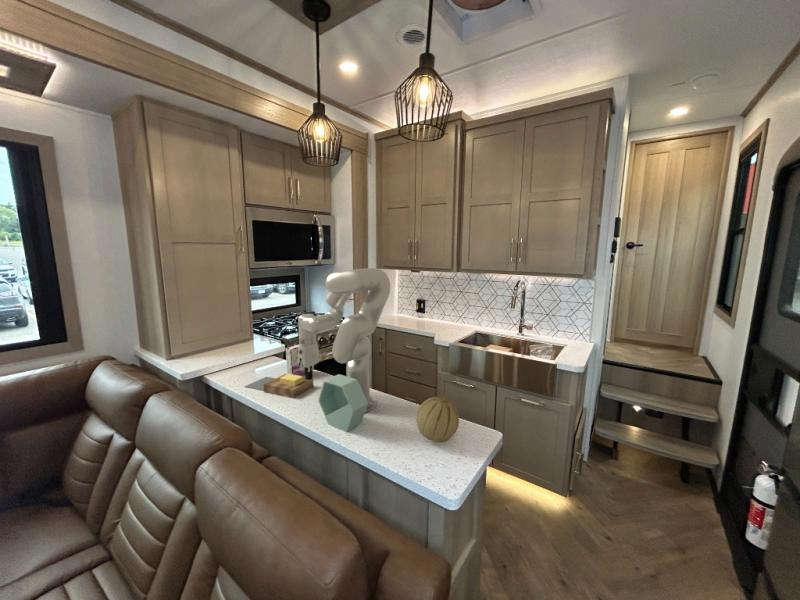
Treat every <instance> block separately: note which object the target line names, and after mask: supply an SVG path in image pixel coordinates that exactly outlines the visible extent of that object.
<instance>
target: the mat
mask: <svg viewBox="0 0 800 600" xmlns="http://www.w3.org/2000/svg"><path fill="white" fill-rule="evenodd" d="M276 378H277V377H271V376H265V377H263V378H260V379H257V380H256V381H253V382H251V383H249V384H246V385H244V388H248V389H252V390H253V389H254V390H259V391H263V392H264V385H263V384H265V383H267V382H269V381H271V380H273V379H276Z"/></svg>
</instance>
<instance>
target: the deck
mask: <svg viewBox="0 0 800 600" xmlns="http://www.w3.org/2000/svg"><path fill="white" fill-rule="evenodd" d="M285 375H287V374H286V373H284V374H282V375H280V376H278V377H275V378H276V379H273V380H271V381H269V382H267V383H265V384H263V385H264V391H263V393H267V394H271V395H276V396H280V397H285V398H289V399H290V398H291V399H295V398H296V397H298V396H301V395H302V394H304V393H305V392H307V391H309V390H311V389H313V388H314V378H313V379H311V380H306V379H305V377H303V380H304V381H303V382H301V383H300V384H298V385H296V386H293V385H287V384H282V383H280V378H281V377H283V376H285Z"/></svg>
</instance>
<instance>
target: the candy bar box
mask: <svg viewBox="0 0 800 600" xmlns="http://www.w3.org/2000/svg"><path fill="white" fill-rule="evenodd" d="M298 349H299V343H298V344H295V345H290V346H288V347H285V358H286V359H285V360H286V372H287V374H292V375H298V376H305V371H304V370H300V366H299V365H298Z"/></svg>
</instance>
